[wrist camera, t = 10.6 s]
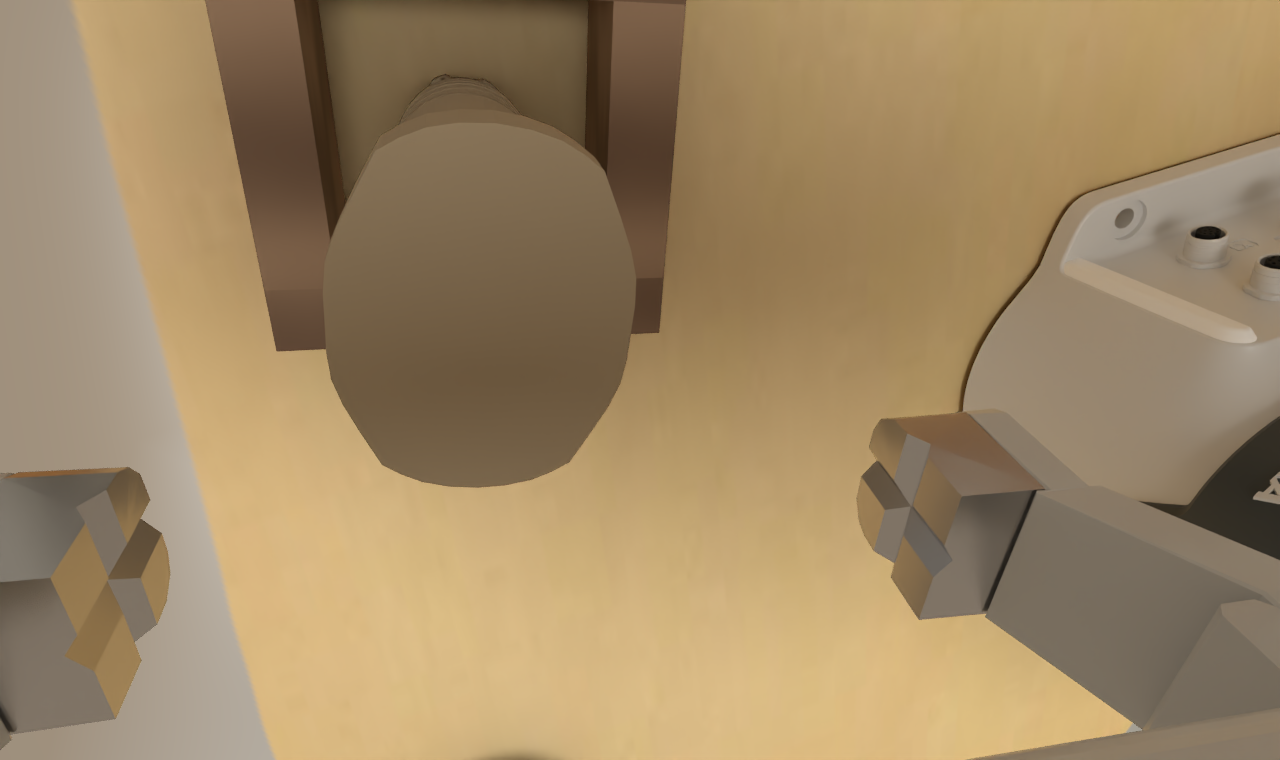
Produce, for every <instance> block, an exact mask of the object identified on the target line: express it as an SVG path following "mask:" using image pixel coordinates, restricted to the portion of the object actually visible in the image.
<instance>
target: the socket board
mask: <svg viewBox="0 0 1280 760" xmlns="http://www.w3.org/2000/svg"><path fill="white" fill-rule="evenodd" d="M205 2H206V7H207V11H208V16H209V21H210V26H211V31H212V36H213V41H214V46H215V51H216V56H217V61H218V65H219V70H220V75H221V80H222V85H223V90H224V95H225V100H226V105H227V110H228V115H229V120H230V124H231V129H232V134H233V139H234V144H235V149H236V154H237V159H238V164H239V169H240V174H241V178H242V183H243V188H244V193H245V198H246V203H247V208H248V213H249V218H250V223H251V228H252V232H253V237H254V242H255V247H256V252H257V257H258V262H259V267H260V272H261V277H262V282H263V287H264V291H265V296H266V301H267V306H268V311H269V316H270V321H271V326H272V331H273V336H274V341H275V345H276V350H277V351H295V350H315V349H326V339H325V322H324V306H323V280H324V263H325V258H326V254H327V250H328V246H329V243H330V240H331V238H332V235H333V233H334V230H335V227H336V225H337V222H338V220H339V218H340V215H341V213H342V211H343V209H344V207H345V198H344V191H343V183H342V176H341V169H340V162H339V154H338V147H337V140H336V132H335V125H334V118H333V111H332V103H331V96H330V89H329V81H328V74H327V67H326V60H325V52H324V45H323V38H322V30H321V23H320V16H319V9H318V1H317V0H205ZM685 7H686V0H589V6H588V49H587V91H586V134H585V149H586V150H587V151H588V152H589V153H590V154H592V155H593V156H594V157H595V158H596V160H597V161H598V162H599V164H600V165H601V167H602V168H603V169H604V171H605V173H606V176H607V179H608V182H609V185H610V188H611V191H612V194H613V196H614V199H615V202H616V205H617V208H618V211H619V214H620V217H621V220H622V223H623V226H624V229H625V232H626V236H627V239H628V242H629V245H630V248H631V252H632V258H633V263H634V269H635V274H636V296H635V310H634V316H633V322H632V329H631V334H641V333H659V328H660V315H661V303H662V291H663V278H664V266H665V254H666V241H667V229H668V217H669V204H670V192H671V180H672V167H673V155H674V143H675V130H676V118H677V106H678V93H679V81H680V69H681V56H682V44H683V32H684V19H685Z"/></svg>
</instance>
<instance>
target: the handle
mask: <svg viewBox="0 0 1280 760" xmlns="http://www.w3.org/2000/svg"><path fill="white" fill-rule="evenodd" d="M635 296H636V274H635V269H634V263H633V258H632V252H631V248H630V245H629V242H628V239H627V236H626V232H625V229H624V226H623V223H622V220H621V217H620V214H619V211H618V208H617V205H616V202H615V199H614V196H613V194H612V191H611V188H610V185H609V182H608V179H607V176H606V173H605V171H604V169H603V168H602V167H601V165H600V164H599V162H598V161H597V160H596V158H595V157H594V156H593V155H592V154H590V153H589V152H588V151H587V150H586V149H585V148H583V147H582V146H581V145H580V144H579V143H577V142H576V141H575V140H573V139H572V138H570V137H569V136H567V135H566V134H564V133H562V132H561V131H559V130H558V129H556V128H555V127H553V126H551V125H548V124H545V123H542V122H540V121H537V120H534V119H531V118H529V117H526V116H522V115H521V114H520V113H519V111H518V110H517V109H516V107H515V106H514V105H513V104H512V103H511V102H510V101H509V100H508V99H507V98H506V97H505V96H504V95H503V94H502V93H500V92H499V91H498V90H497V88H496V87H495V86H493V85H492V84H491V83H490V82H488V81H486V80H484V79H478V80H474V79H469V78H451V77H450V76H449V75H441V76H438V77H436V78H435V79H433V80H432V82H431V85H430V86H428V87H427V88H425V89H424V90H423V91H421V92H420V93H419V94H418V95H417V96H416V97H415V98H414V99H413V100H412V102H411V103H410V105H409V106H408V108H407V109H406V111H405V113H404V114H403V116H402V118H401V121H400V123H399V125H398V126H396V127H394V128H393V129H391V130H389V131H387V132H385V133H384V134H382V135H381V136H380V137H379V139H378V140H377V142H376V144H375V146H374V148H373V150H372V152H371V154H370V156H369V157H368V159H367V161H366V163H365V165H364V167H363V169H362V171H361V173H360V175H359V177H358V179H357V181H356V183H355V185H354V187H353V189H352V191H351V194H350V196H349V198H348V200H347V202H346V204H345V207H344V209H343V211H342V213H341V215H340V218H339V220H338V222H337V225H336V227H335V230H334V233H333V235H332V238H331V240H330V243H329V246H328V250H327V254H326V258H325V263H324V280H323V306H324V322H325V339H326V353H327V359H328V364H329V369H330V375H331V380H332V382H333V384H334V386H335V389H336V391H337V393H338V395H339V397H340V399H341V402H342V404H343V406H344V407H345V409H346V410H347V412H348V414H349V415H350V417H351V418H352V420H353V422H354V423H355V425H356V426H357V428H358V430H359V431H360V433H361V434H362V436H363V437H364V439H365V440H366V442H367V443H368V445H369V446H370V448H371V449H372V451H373V452H374V454H375V455H376V457H377V458H378V460H379V461H380V462H381V464H382V465H383V466H385V467H388V468H390V469H392V470H394V471H396V472H398V473H400V474H402V475H405V476H407V477H410V478H413V479H416V480H419V481H421V482H426V483H432V484H438V485H444V486H451V487H477V488H478V487H490V486H502V485H509V484H513V483H518V482H523V481H527V480H532V479H534V478H537V477H539V476H542V475H544V474H547V473H549V472H552V471H553V470H555V469H557V468H559V467H561V466H563V465H565V464H567V463H569V462H570V460H571V459H572V458H573V456H574V455H575V453H576V452H577V451H578V449H579V448H580V446H581V445H582V444H583V442H584V441H585V439H586V438H587V437H588V435H589V434H590V433H591V431H592V430H593V428H594V427H595V425H596V424H597V422H598V421H599V419H600V418H601V416H602V415H603V413H604V412H605V410H606V409H607V408H608V406H609V404H610V402H611V400H612V398H613V396H614V395H615V393H616V391H617V389H618V387H619V385H620V382H621V379H622V375H623V371H624V368H625V364H626V360H627V355H628V348H629V342H630V335H631V329H632V322H633V316H634V310H635Z"/></svg>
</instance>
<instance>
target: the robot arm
mask: <svg viewBox="0 0 1280 760" xmlns="http://www.w3.org/2000/svg"><path fill="white" fill-rule="evenodd" d="M1118 214H1119V215H1118ZM1117 215H1118V217H1117ZM1116 217H1117V218H1116ZM869 448H870V450H871V452H872V453H873V455H874V457H875V459H876V462H875V463H874V464H873V465H872V466H871V467H870V468H869V469H868V470H867V471H866V472H865V473H864V474H863V475H862V476H861V480H860V485H859V490H858V495H857V507H858V518H859V522H860V525H861V528H862V531H863V533H864V536H865V538H866V539H867V541H868V542H869V544H870V546H871V547H872V549H873V550H874V551H875V552H877V553H878V554H880V555H882V556H883V557H885V558H887V559H889V560H890V561H892V562H894V565H893V570H892V575H891V578H892V580H893V581H894V583H895V584H896V586H897V587H898V589H899V590H900V592H901V593H902V595H903V596H904V598H905V599H906V601H907V603H908V604H909V606H910V607H911V609H912V610H913V612H914V613H915V615H916V616H917V618H918V619H919V620H922V619H932V618H943V617H954V616H964V615H975V614H986V613H987V614H986V616H985V617H986V618H987V619H989V620H990V621H992V622H993V623H994V624H996V625H997V626H999V627H1000V628H1001V629H1003V630H1004V631H1006V632H1007V633H1008V634H1010V635H1011V636H1013V637H1014V638H1015V639H1017V640H1018V641H1020V642H1021V643H1022V644H1024V645H1025V646H1027V647H1028V648H1029V649H1031V650H1032V651H1034V652H1035V653H1036V654H1038V655H1039V656H1040V657H1042V658H1043V659H1045V660H1046V661H1047V662H1049V663H1050V664H1052V665H1053V666H1054V667H1056V668H1057V669H1059V670H1060V671H1061V672H1063V673H1064V674H1066V675H1067V676H1068V677H1070V678H1071V679H1073V680H1074V681H1075V682H1077V683H1078V684H1080V685H1081V686H1082V687H1084V688H1085V689H1087V690H1088V691H1089V692H1091V693H1092V694H1094V695H1095V696H1096V697H1098V698H1099V699H1101V700H1102V701H1103V702H1105V703H1106V704H1108V705H1109V706H1110V707H1112V708H1113V709H1115V710H1116V711H1117V712H1119V713H1120V714H1122V715H1123V716H1124V717H1126V718H1127V719H1129V720H1130V721H1131V722H1133V723H1134V724H1136V725H1137V726H1138V727H1140V728H1141V729H1142V731H1136V732H1130V733H1124V734H1118V735H1112V736H1106V737H1099V738H1093V739H1087V740H1081V741H1075V742H1069V743H1063V744H1057V745H1051V746H1045V747H1039V748H1033V749H1027V750H1021V751H1015V752H1009V753H1003V754H997V755H991V756H985V757H979V758H973V759H967V760H1280V134H1279V135H1276V136H1272V137H1269V138H1266V139H1262V140H1259V141H1256V142H1253V143H1249V144H1246V145H1243V146H1239V147H1236V148H1233V149H1230V150H1226V151H1223V152H1220V153H1217V154H1213V155H1210V156H1207V157H1203V158H1200V159H1197V160H1194V161H1190V162H1187V163H1184V164H1180V165H1177V166H1174V167H1171V168H1167V169H1164V170H1161V171H1157V172H1154V173H1151V174H1148V175H1144V176H1141V177H1138V178H1135V179H1131V180H1128V181H1125V182H1121V183H1118V184H1115V185H1112V186H1108V187H1105V188H1102V189H1098V190H1095V191H1092V192H1089V193H1087V194H1085V195H1083V196H1081V197H1080V198H1078V199H1077V200H1076V201H1075V202H1074V203H1073V204H1072V205H1071V206H1070V207H1069V208H1068V209H1067V211H1066V212H1065V214H1064V215H1063V217H1062V219H1061V220H1060V222H1059V224H1058V226H1057V228H1056V230H1055V232H1054V234H1053V236H1052V239H1051V241H1050V243H1049V245H1048V248H1047V250H1046V252H1045V255H1044V257H1043V259H1042V262H1041V264H1040V266H1039V268H1038V269H1037V271H1036V272H1035V274H1034V275H1033V276H1032V278H1031V279H1030V280H1029V282H1028V283H1027V284H1026V285H1025V287H1024V288H1023V289H1022V290H1021V291H1020V293H1019V294H1018V295H1017V296H1016V297H1015V299H1014V300H1013V301H1012V302H1011V303H1010V305H1009V306H1008V307H1007V308H1006V310H1005V311H1004V312H1003V314H1002V315H1001V316H1000V317H999V319H998V320H997V322H996V323H995V325H994V326H993V328H992V329H991V331H990V333H989V334H988V336H987V338H986V339H985V341H984V343H983V345H982V347H981V349H980V351H979V353H978V355H977V357H976V359H975V362H974V364H973V367H972V369H971V372H970V375H969V379H968V382H967V386H966V390H965V396H964V403H963V411H962V412H957V413H951V414H939V415H926V416H913V417H900V418H887V419H881V420H880V422H879V423H878V424H877V426H876V427H875V429H874V431H873V434H872V438H871V442H870V445H869ZM149 501H150V498H149V495H148V493H147V490H146V488H145V485H144V483H143V480H142V478H141V475H140V474H139V473H137V472H136V471H134V470H132V469H131V468H129V467H121V468H100V469H80V470H79V469H78V470H57V471H35V472H18V473H16V474H14V473H0V750H1V749H2V748H3V747H4V746H5V745H6V744H7V743H9V741H11V739H12V737H11V734H17V733H24V732H31V731H37V730H45V729H51V728H58V727H64V726H71V725H78V724H85V723H92V722H98V721H105V720H112V719H116V717H117V715H118V713H119V710H120V708H121V706H122V703H123V701H124V699H125V697H126V694H127V692H128V690H129V687H130V685H131V683H132V681H133V679H134V676H135V674H136V672H137V670H138V667H139V665H140V663H141V658H140V655H139V653H138V650H137V648H136V645H135V641H137V640H138V639H139V638H140V637H142V636H143V635H144V634H145V633H147V632H148V631H149V630H150V629H152V628H153V627H154V626H156V625H157V623H158V621H159V619H160V616H161V614H162V611H163V609H164V606H165V604H166V601H167V594H168V587H169V579H170V566H169V557H168V551H167V548H166V545H165V541H164V539H163V536H162V533H161V532H159V531H158V530H156V529H155V528H153V527H152V526H150V525H149V524H147V523H146V522H145V521H143V520H142V519H140V518H141V516H142V515H143V513H144V511H145V509H146V507H147V505H148V503H149Z"/></svg>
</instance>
